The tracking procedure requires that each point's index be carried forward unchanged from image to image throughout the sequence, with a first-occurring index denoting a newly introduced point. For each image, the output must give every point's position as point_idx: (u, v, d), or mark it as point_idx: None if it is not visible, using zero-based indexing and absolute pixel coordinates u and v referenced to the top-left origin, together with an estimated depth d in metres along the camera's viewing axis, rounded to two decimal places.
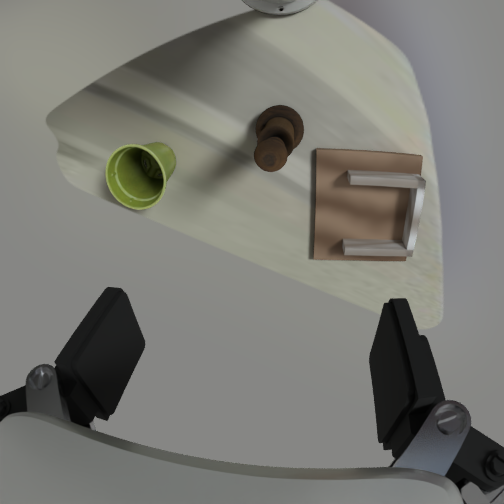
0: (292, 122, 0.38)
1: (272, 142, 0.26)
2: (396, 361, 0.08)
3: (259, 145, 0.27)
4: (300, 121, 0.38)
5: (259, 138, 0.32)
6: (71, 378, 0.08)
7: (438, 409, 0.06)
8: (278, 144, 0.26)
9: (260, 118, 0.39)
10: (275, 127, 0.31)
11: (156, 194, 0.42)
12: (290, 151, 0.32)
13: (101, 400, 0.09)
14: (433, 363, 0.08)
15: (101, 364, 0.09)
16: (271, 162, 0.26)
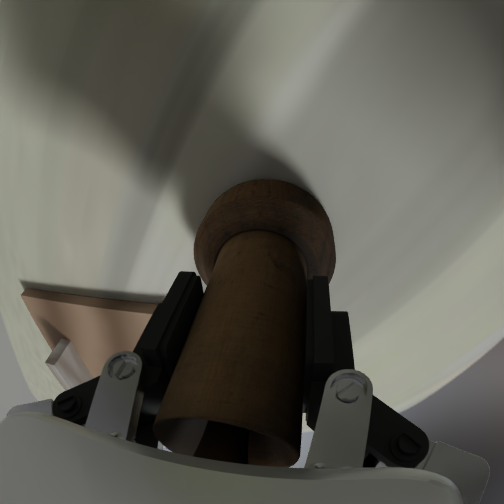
0: None
1: None
2: (306, 331, 0.09)
3: None
4: None
5: None
6: (156, 364, 0.08)
7: (338, 377, 0.07)
8: None
9: (302, 215, 0.13)
10: (292, 456, 0.07)
11: None
12: None
13: None
14: (349, 337, 0.09)
15: (182, 348, 0.09)
16: None
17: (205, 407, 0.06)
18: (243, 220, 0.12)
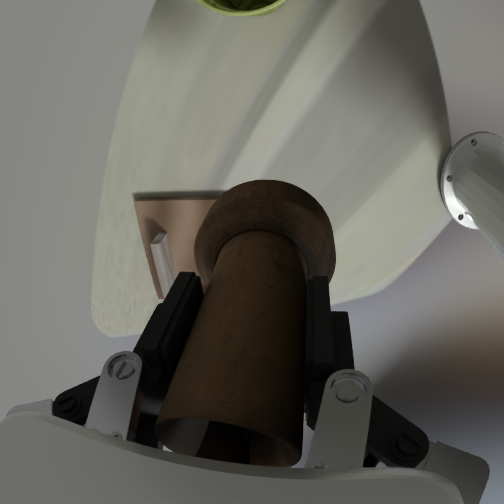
0: None
1: None
2: (306, 331, 0.09)
3: None
4: None
5: (242, 426, 0.06)
6: (156, 364, 0.08)
7: (338, 377, 0.07)
8: None
9: (302, 215, 0.13)
10: (294, 456, 0.07)
11: None
12: None
13: None
14: (349, 337, 0.09)
15: (182, 348, 0.09)
16: None
17: (207, 407, 0.06)
18: (244, 221, 0.13)
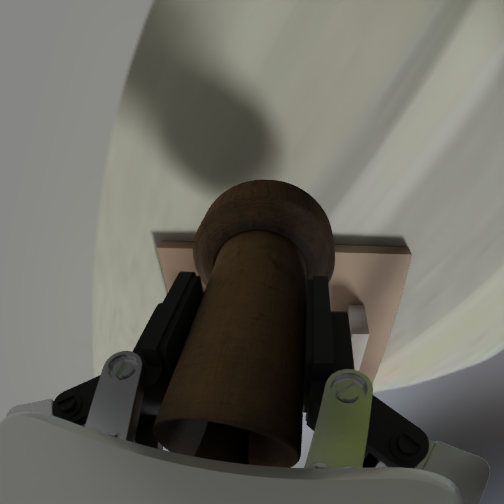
0: None
1: None
2: (306, 331, 0.09)
3: None
4: None
5: (240, 427, 0.06)
6: (155, 364, 0.08)
7: (338, 377, 0.07)
8: None
9: (301, 215, 0.13)
10: (293, 457, 0.07)
11: None
12: None
13: None
14: (349, 336, 0.09)
15: (182, 348, 0.09)
16: None
17: (205, 408, 0.06)
18: (242, 221, 0.12)
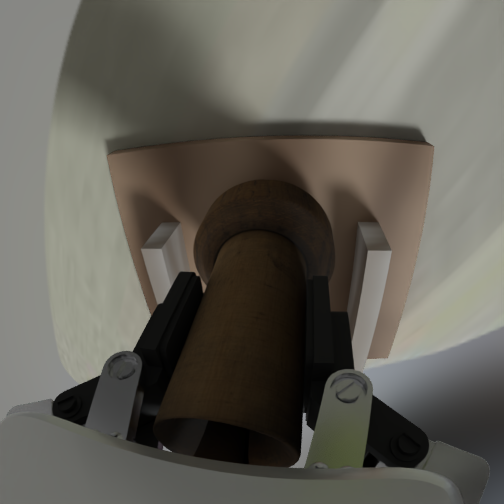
0: None
1: None
2: (306, 331, 0.09)
3: None
4: None
5: None
6: (155, 364, 0.08)
7: (338, 377, 0.07)
8: None
9: (302, 215, 0.13)
10: (293, 456, 0.07)
11: None
12: None
13: None
14: (349, 336, 0.09)
15: (182, 348, 0.09)
16: None
17: (205, 407, 0.06)
18: (243, 220, 0.12)
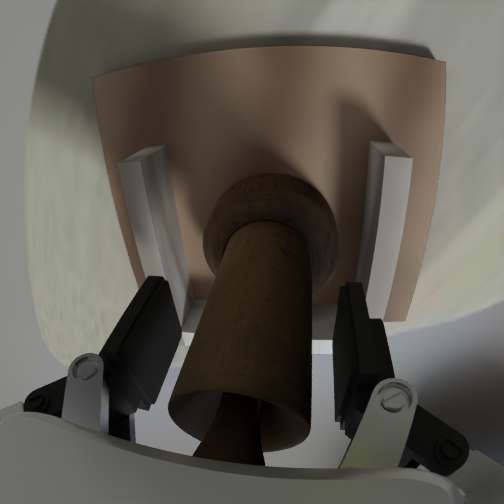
0: None
1: None
2: (346, 340, 0.08)
3: None
4: None
5: (255, 397, 0.06)
6: (118, 366, 0.08)
7: (383, 386, 0.07)
8: None
9: (307, 206, 0.13)
10: (303, 431, 0.07)
11: None
12: None
13: (145, 389, 0.09)
14: (386, 344, 0.09)
15: (147, 352, 0.09)
16: None
17: (222, 380, 0.07)
18: (252, 211, 0.13)
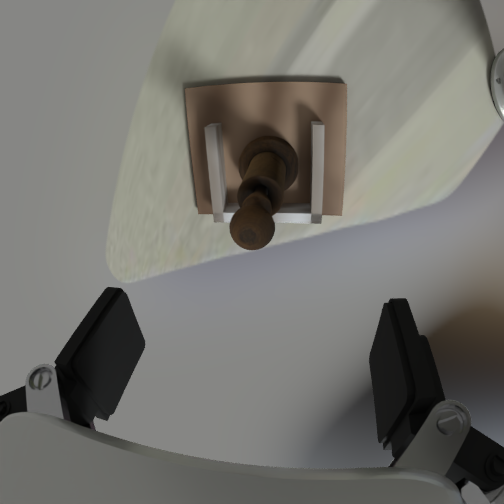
0: None
1: (271, 235, 0.21)
2: (396, 361, 0.08)
3: (267, 218, 0.20)
4: None
5: (266, 178, 0.25)
6: (71, 378, 0.08)
7: (438, 409, 0.06)
8: (268, 241, 0.21)
9: (283, 146, 0.32)
10: (281, 198, 0.26)
11: None
12: None
13: (101, 400, 0.09)
14: (433, 363, 0.08)
15: (101, 364, 0.09)
16: (244, 239, 0.20)
17: (257, 174, 0.25)
18: (261, 147, 0.31)
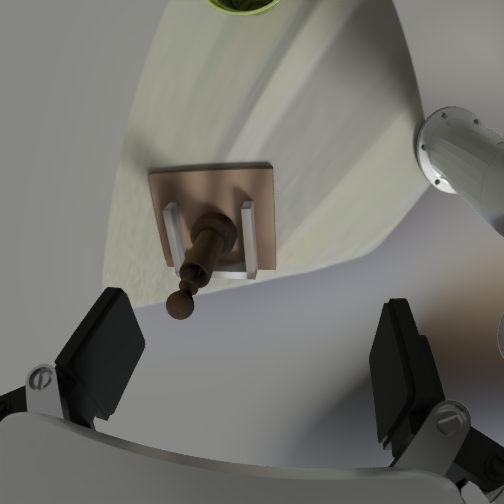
0: None
1: (190, 311, 0.32)
2: (396, 361, 0.08)
3: (186, 302, 0.32)
4: (222, 256, 0.46)
5: (196, 263, 0.36)
6: (71, 378, 0.08)
7: (438, 409, 0.06)
8: (189, 314, 0.32)
9: (221, 224, 0.43)
10: (208, 276, 0.37)
11: None
12: None
13: (101, 400, 0.09)
14: (433, 363, 0.08)
15: (101, 364, 0.09)
16: (173, 314, 0.32)
17: (190, 260, 0.37)
18: (204, 226, 0.43)
